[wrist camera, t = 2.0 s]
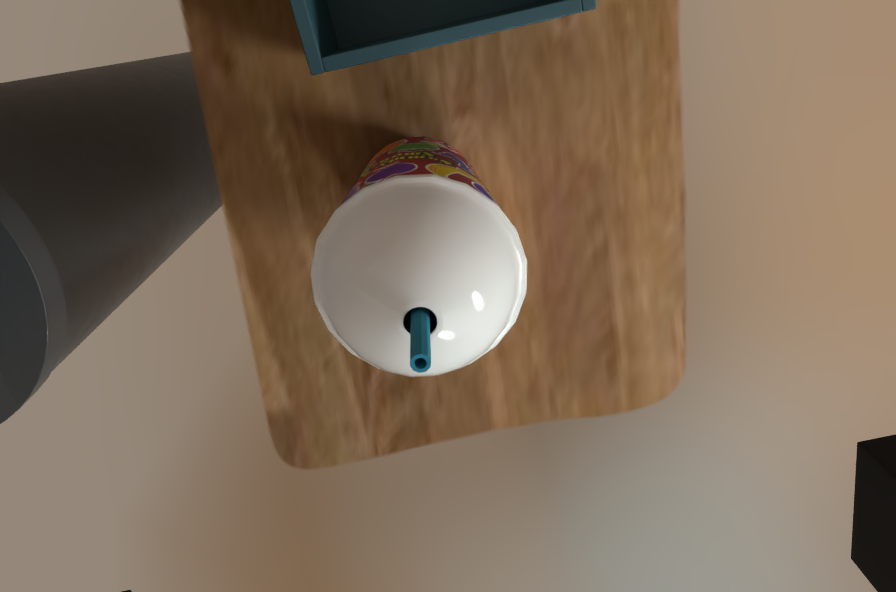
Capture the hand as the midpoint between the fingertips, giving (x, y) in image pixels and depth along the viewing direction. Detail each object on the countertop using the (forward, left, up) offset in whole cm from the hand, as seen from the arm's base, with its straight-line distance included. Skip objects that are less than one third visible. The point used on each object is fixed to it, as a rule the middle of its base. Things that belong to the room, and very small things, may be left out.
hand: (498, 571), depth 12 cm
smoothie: (-1, 0, -28) cm, 28 cm away
